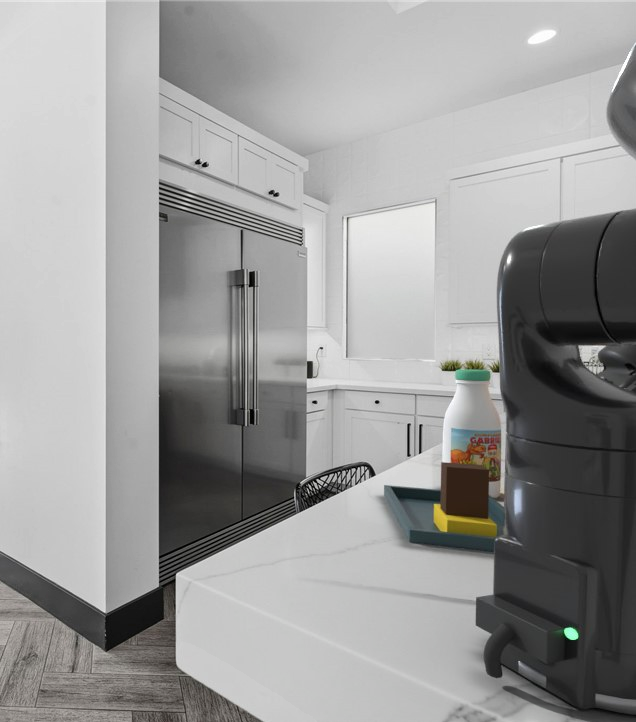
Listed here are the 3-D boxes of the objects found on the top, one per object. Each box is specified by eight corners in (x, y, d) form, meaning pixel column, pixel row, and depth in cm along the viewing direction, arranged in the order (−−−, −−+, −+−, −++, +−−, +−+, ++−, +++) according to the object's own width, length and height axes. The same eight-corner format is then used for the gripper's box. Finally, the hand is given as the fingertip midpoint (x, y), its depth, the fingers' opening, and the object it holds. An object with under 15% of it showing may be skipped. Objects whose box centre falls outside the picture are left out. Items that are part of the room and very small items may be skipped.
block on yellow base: (496, 545, 62) (498, 473, 62) (446, 540, 64) (448, 470, 64) (478, 526, 69) (479, 461, 68) (433, 522, 71) (434, 458, 70)
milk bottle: (431, 490, 88) (433, 369, 87) (459, 485, 91) (462, 368, 90) (481, 502, 81) (484, 371, 80) (510, 496, 84) (513, 370, 83)
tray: (550, 563, 59) (551, 545, 58) (409, 546, 64) (409, 529, 63) (487, 507, 79) (487, 493, 79) (383, 497, 84) (384, 484, 84)
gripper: (604, 325, 66) (491, 412, 71) (679, 321, 53) (534, 428, 58) (659, 368, 64) (540, 455, 69) (751, 375, 51) (596, 481, 56)
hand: (537, 443), depth 63 cm, fingers open, 8 cm apart
